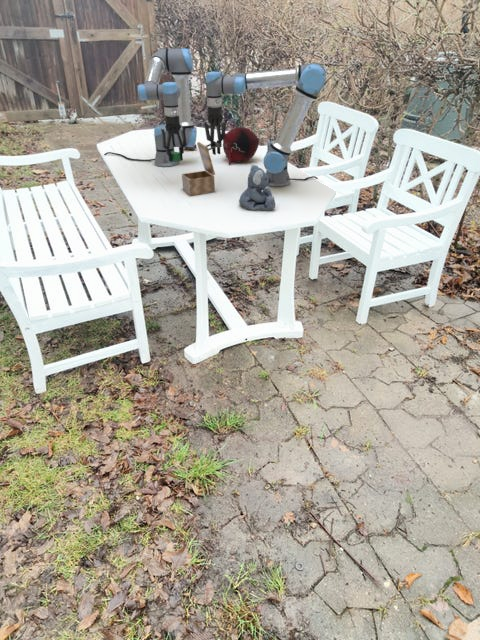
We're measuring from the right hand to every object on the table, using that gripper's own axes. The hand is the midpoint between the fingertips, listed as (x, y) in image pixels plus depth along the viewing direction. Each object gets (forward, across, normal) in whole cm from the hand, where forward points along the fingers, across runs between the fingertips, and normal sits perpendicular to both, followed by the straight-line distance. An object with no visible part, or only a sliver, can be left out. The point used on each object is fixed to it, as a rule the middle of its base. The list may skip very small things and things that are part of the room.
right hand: (216, 153), depth 243 cm
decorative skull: (+19, +36, +46) cm, 61 cm away
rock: (+18, +16, +88) cm, 91 cm away
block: (+5, -18, +15) cm, 24 cm away
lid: (+2, -7, 0) cm, 7 cm away
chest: (+19, -12, 0) cm, 22 cm away
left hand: (+5, -18, +15) cm, 24 cm away
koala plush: (+19, +6, -35) cm, 41 cm away
